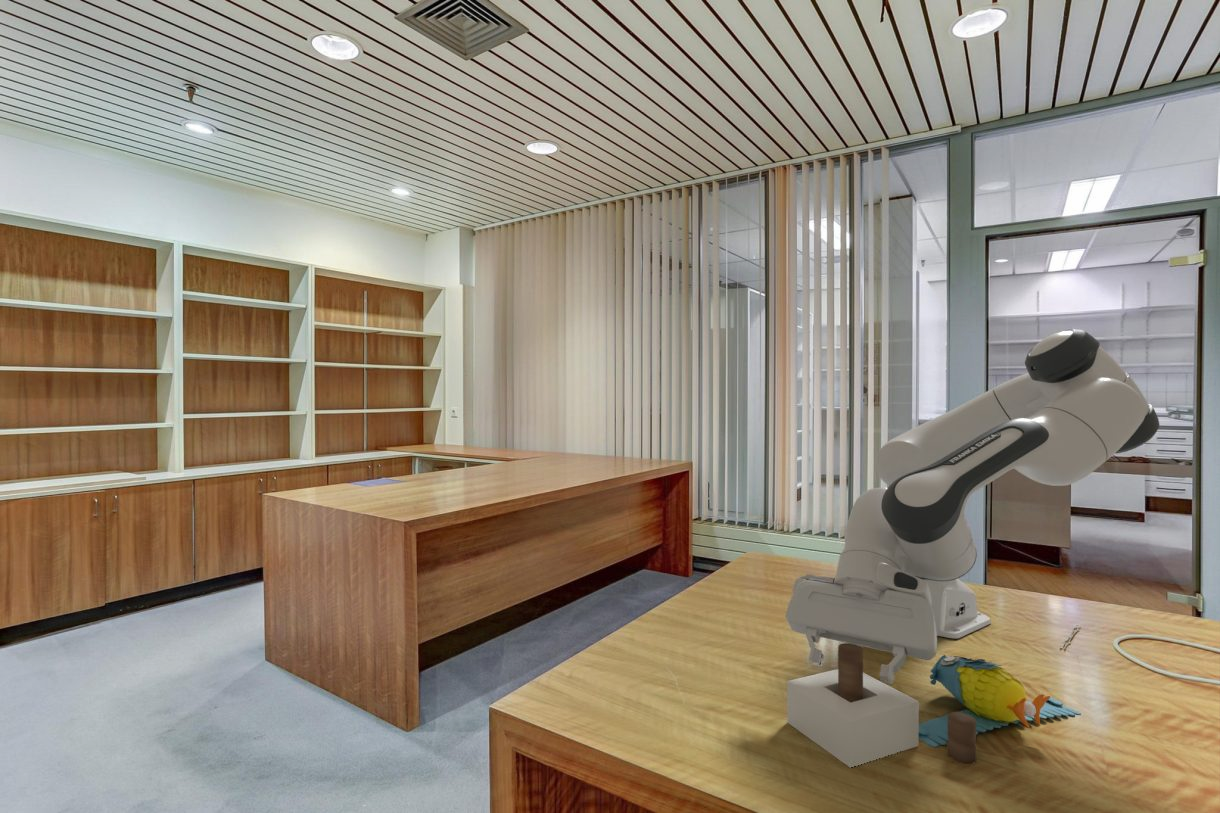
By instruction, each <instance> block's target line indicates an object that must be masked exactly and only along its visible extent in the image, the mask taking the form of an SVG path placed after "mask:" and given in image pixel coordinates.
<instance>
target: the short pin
mask: <svg viewBox="0 0 1220 813" xmlns="http://www.w3.org/2000/svg"><path fill="white" fill-rule="evenodd" d="M947 715H948V741H947V756H948V757H949V758H950V759H952V760H953V761H955V762H957V763H960V764H964V765H965V764H967V765H971V764H974V763H975V762H976V761H977V734H976V720H975V719H974V718H973V717H972V716H970V715H967V714H964V713H960V711H958V712H957V711H954V712H953V711H952V712H949V713H948V714H947Z"/></svg>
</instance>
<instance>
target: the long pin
mask: <svg viewBox="0 0 1220 813" xmlns="http://www.w3.org/2000/svg"><path fill="white" fill-rule="evenodd" d="M837 649H838V650H837V654H838V655H837V656H838V659H837V660H838V662H837V664H838V665H837V667H838V668H837V669H838V696H840V697H842V698H844V699H845V700H847V701H849V702H850V703H851V702H855V701H859V700H862V699H863V673H864V649H863V646H859V645H855V644H850V643H845V642H844V643H839V645H838V646H837Z"/></svg>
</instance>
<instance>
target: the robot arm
mask: <svg viewBox="0 0 1220 813" xmlns="http://www.w3.org/2000/svg"><path fill="white" fill-rule="evenodd" d="M1024 365H1025V368H1026V371H1027V373H1023V374H1021V375H1018V376H1017V377H1013V378H1012V379H1009V380H1007V381H1005V382H1002V383H1001V384H999V385H996V386H994V387H993V388H991V389H989V390H987V391H986V392H983V393H982V394H980V395H978V396H975V397H974V398H972V399H970V400H968V401H966V402H965V403H962V404H961V405H959V406H957V407H955V408H954V409H951V410H949V411H947V412H945V413H943V414H941V415H939V416H936V417H934V418H932V419H930V420H927V421H925V422H923V423H921V424H919V425H918V426H915V427H913V428H910V429H909V430H907V431H904V432H903V433H901V434H899V435H897V436H896V437H894V438H892V439H890V440H888V441H886V442H885V444H884V445H883V446H882V447H881V448H880V449H879V450H878V452H877V454H876V456H875V462H874V463H875V464H874V465H875V470H876V473H877V475H878V477H879V478H880V480H881V481H883V483H885V485H887V486H888V487H874V488H870V489H868V490H867V489H866V490H865V491H864V492H862V493H861V494H860V495H859V496H858V497H857V499H856V500H855V502H853V503H854V504H853V506H852V508H851V510H850V514H849V516H848V519H847V524H846V527H845V532H844V548H843V549H842V551H841V553H840V555H839V558H838V563H837V568H836V572H835V576H834V577H831V576H822V575H821V576H820V575H815V574H811V573H808V574H807V573H806V574H805V575H802V576H800V577H798V578H796V579H795V581H794V584H793V588H792V596H791V598H790V600H789V602H788V605H787V608H786V611H785V620H786V622H787V624H788V626H789V627H790V629H791V630H792V631H793V632H795V633H798V634H805V637H806V639H807V643H808V645H809V648H810V651H809V655H808V662H809V663H810V665H814V666H817V667H822V666H823V660H824V657H825V655H824V654H823V651H822V650H821V649H819V648H817V646H816V644H819V643H820V638H822V639H823V638H824V639H825V640H826V639H827V640H831V641H835V642H842V643H844V644H845V643H848V644H855V645H858V646H860V647H862V648H863V647H865V648H867V649H868V648H869V649H873V650H878V651H883V652H887V653H890V654H891V653H892V655H893V658H892V659H891V661H890V662H889V663H888V664H883V663H881V665H880V672H879V678H880V682H882V683H888V684H891V685H892V684H894V680H895V675H896V674H895V673H897V672H898V671H899V670H900V669H901V668H903V666H904V664H906V660H907V657H911V658H916V659H921V660H924V661H931V660H933V659H934V657H936V656H937V653H938V652H937V651H938V637H944V638H948V639H960V638H962V637H964V636H966V635H968V634H970V633H971V634H972V633H973V632H975V631H977V630H980V629H981V628H984V627H986V626H988V625H990V624H991V623H992V621H991V617H989V615H986V614H984V613H982V612H981V611H978V602H977V595H976V593H975V592H974V591H973V590H972V589H971V588H970V587H968V586H967V585H966V584H965V583H964V582H962V581H961V580H960V578H961V577H963V576H965V575H966V574H968V573H969V572H970V571H971V570H972V569H973V567H974V565H975V563H976V560H977V556H978V555H977V548H976V545H975V542H974V541H975V540H974V538H973V536H972V533H971V530H970V527H969V524H968V522H967V519H966V516H965V509H966V505H967V502H968V500H969V498H970V497H971V496H972V495H973V494H974V493H975V492H977V491H978V490H980V489H982V488H983V487H985V486H987V485H989V484H990V483H992V482H993V481H995V480H997V479H998V478H999V477H1002V476H1003V475H1004V474H1006V473H1008V472H1010V471H1011V470H1013V469H1014V470H1016V472H1019V473H1020V474H1021V475H1023V476H1024V477H1026V478H1028V479H1030V480H1032V481H1034V482H1036V483H1040V484H1043V485H1046V486H1053V487H1055V486H1056V487H1058V486H1059V487H1062V486H1063V487H1064V486H1070V485H1072V484H1075V483H1077V482H1078V481H1081V480H1083V479H1085V478H1086V477H1087V476H1089V475H1091V474H1092V473H1093V472H1094V471H1096V470H1098V468H1099V467H1100V466H1102V465H1103V464H1104V463H1106V462H1107V461H1108V460H1109V459H1111V457H1112V456H1114V455H1115V454H1121V453H1126V452H1128V451H1131V450H1134V449H1136V448H1139V447H1140V446H1143V445H1144V444H1146V443H1148V442H1149V441H1150V440H1151V439H1152V438H1153V437H1154V436H1155V435H1156V433H1157V432H1158V430H1159V428H1160V421H1159V417H1158V414H1157V413H1156V410H1155V409H1154V406H1153V405H1152V404H1150V403H1148V402H1147V399H1146V397H1145V396H1144V395H1143V392H1142V391H1141V390H1140V388H1139V386H1138V385H1137V383H1136V382H1135V381H1134V380H1133V378H1132V377H1131V375H1130V374H1129V372H1127V371H1125V370H1124V369H1123V368H1122V367H1121V366H1120V364H1118V362H1117V361H1116V360H1115V359H1114V358H1113V357H1112V356H1111V355H1110V354H1109V353H1108V352H1107V351H1106V350H1105V349H1104V348H1103V347H1101V346H1100V342H1099V340H1098V339H1096V338H1095V337H1094V336H1092V334H1090V333H1088V332H1087V331H1086V330H1084V329H1075V328H1070V329H1065V330H1062V331H1060V332H1059V331H1058V332H1055V333H1053V334H1051V335H1048V336H1047V337H1044V338H1043V339H1041V340H1040V341H1038V342H1037V343H1036V344H1035V345H1034V346H1033V347H1032V348H1031V349H1030V350H1029V351H1028V353H1027V354H1026V357H1025V361H1024Z"/></svg>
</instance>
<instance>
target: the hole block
mask: <svg viewBox="0 0 1220 813" xmlns="http://www.w3.org/2000/svg"><path fill="white" fill-rule="evenodd" d="M786 688H787V690H786V697H787V698H786V699H787V700H786V701H787V702H786V703H787V704H786V715H787V716H786V718H787V719H786V722H787V724H789V725H790V726H791V727H793V728H794V729H795V730H797V731H798V732H800V733H801V734H803V735H804V736H805V737H807V738H808V739H809V740H811V741H812V742H814V743H815V744H816V745H817V746H819V747H821V748H822V749H824V751H826V752H828V753H829V754H831V755H832V756H833V757H835V758H836V759H838V760H839V761H840V762H841V763H842V764H844V765H846V766H847V767H849V768H850V769H852V768H851V767H853V768H855V767H854V766H856V767H859V766H861V764H862V765H865V764H868V763H870V762H869V761H871V762H874V761H876V759H877V760H880V759H882V758H886V757H889V756H892V755H895V754H898V753H901V752H904V751H907V750H911V749H913V748H917V747H919V746H920V745H919V741H920V740H919V739H920V738H919V724H920V722H919V719H920V717H919V715H920V712H919V707H920V706H919V700H917V699H915V698H913V697H911V696H910V695H907V694H906V693H903V692H901V691H899V690H897V689H896V688H893V687H892V686H890V685H887V684H886V683H885V682H883V681H881V680H878V679H876V678H874V677H872V676H870V675H869V674H867V673H865V672H863V699H862V700H859V701H855V702H851V703H850V702H849V701H847V700H845V699H844V698H842V697H840V696H838V668H836V669H833V670H828V671H823V672H820V673H819V672H818V673H816V674H811V675H807V676H803V677H799V678H794V679H790V680H787V682H786ZM900 751H901V752H900ZM897 752H898V753H897ZM891 754H892V755H891ZM888 755H889V756H888ZM885 756H886V757H885ZM879 758H880V759H879ZM873 760H874V761H873ZM867 762H868V763H867ZM864 763H865V764H864ZM858 765H859V766H858Z"/></svg>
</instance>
